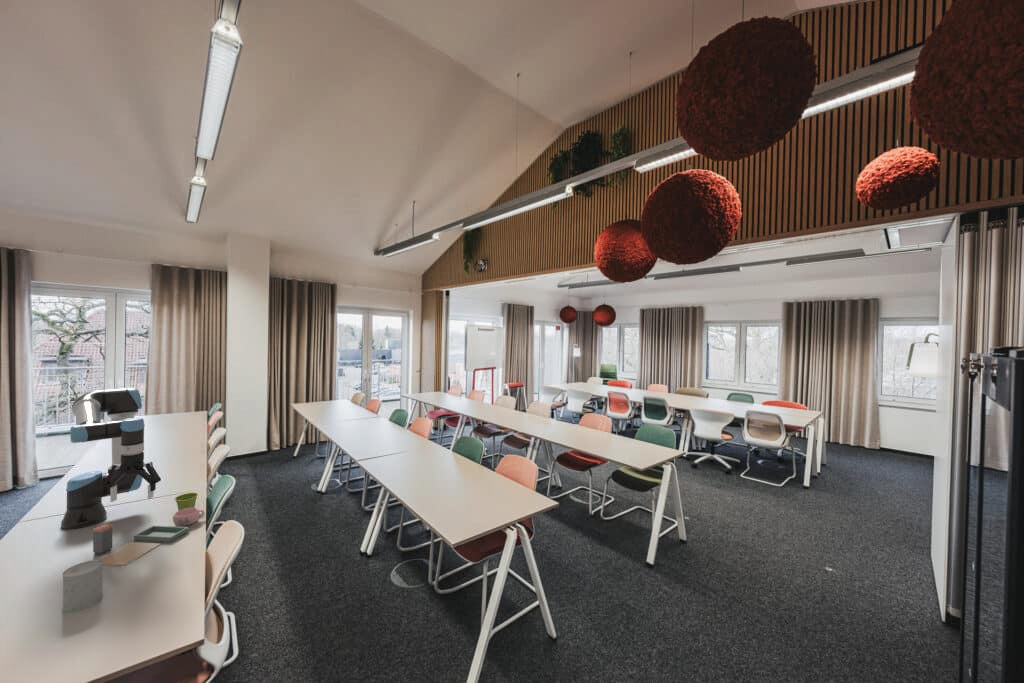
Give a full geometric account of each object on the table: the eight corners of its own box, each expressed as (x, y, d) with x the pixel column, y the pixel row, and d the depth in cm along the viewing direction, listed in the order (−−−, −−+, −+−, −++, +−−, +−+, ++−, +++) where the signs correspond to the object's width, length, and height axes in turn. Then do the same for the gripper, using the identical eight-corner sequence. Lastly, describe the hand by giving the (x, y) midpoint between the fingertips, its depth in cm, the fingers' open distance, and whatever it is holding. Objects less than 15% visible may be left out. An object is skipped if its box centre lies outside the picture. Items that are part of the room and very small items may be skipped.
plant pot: (184, 518, 197) (184, 501, 197) (169, 515, 199) (169, 499, 199) (202, 509, 206) (202, 493, 206) (188, 507, 208) (188, 491, 208)
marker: (92, 555, 164) (93, 529, 163) (103, 549, 168) (103, 524, 167) (102, 555, 163) (102, 529, 163) (112, 550, 168) (112, 524, 167)
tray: (133, 541, 175) (133, 535, 175) (152, 530, 184) (153, 525, 184) (170, 542, 175) (170, 537, 174) (188, 532, 184) (188, 527, 184)
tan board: (91, 564, 157) (91, 563, 157) (130, 542, 173) (130, 541, 173) (124, 565, 157) (124, 564, 157) (161, 544, 173) (161, 543, 173)
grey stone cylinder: (82, 593, 141) (82, 560, 140) (110, 592, 142) (110, 559, 141) (53, 612, 131) (53, 577, 131) (84, 611, 132) (84, 576, 132)
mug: (172, 530, 185) (172, 518, 184) (173, 522, 192) (173, 510, 192) (204, 523, 192) (204, 511, 192) (203, 515, 200) (203, 504, 200)
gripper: (91, 457, 167) (91, 505, 167) (160, 453, 173) (160, 500, 174) (104, 452, 174) (104, 498, 174) (170, 449, 181) (170, 493, 181)
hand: (132, 499), depth 174 cm, fingers open, 13 cm apart
